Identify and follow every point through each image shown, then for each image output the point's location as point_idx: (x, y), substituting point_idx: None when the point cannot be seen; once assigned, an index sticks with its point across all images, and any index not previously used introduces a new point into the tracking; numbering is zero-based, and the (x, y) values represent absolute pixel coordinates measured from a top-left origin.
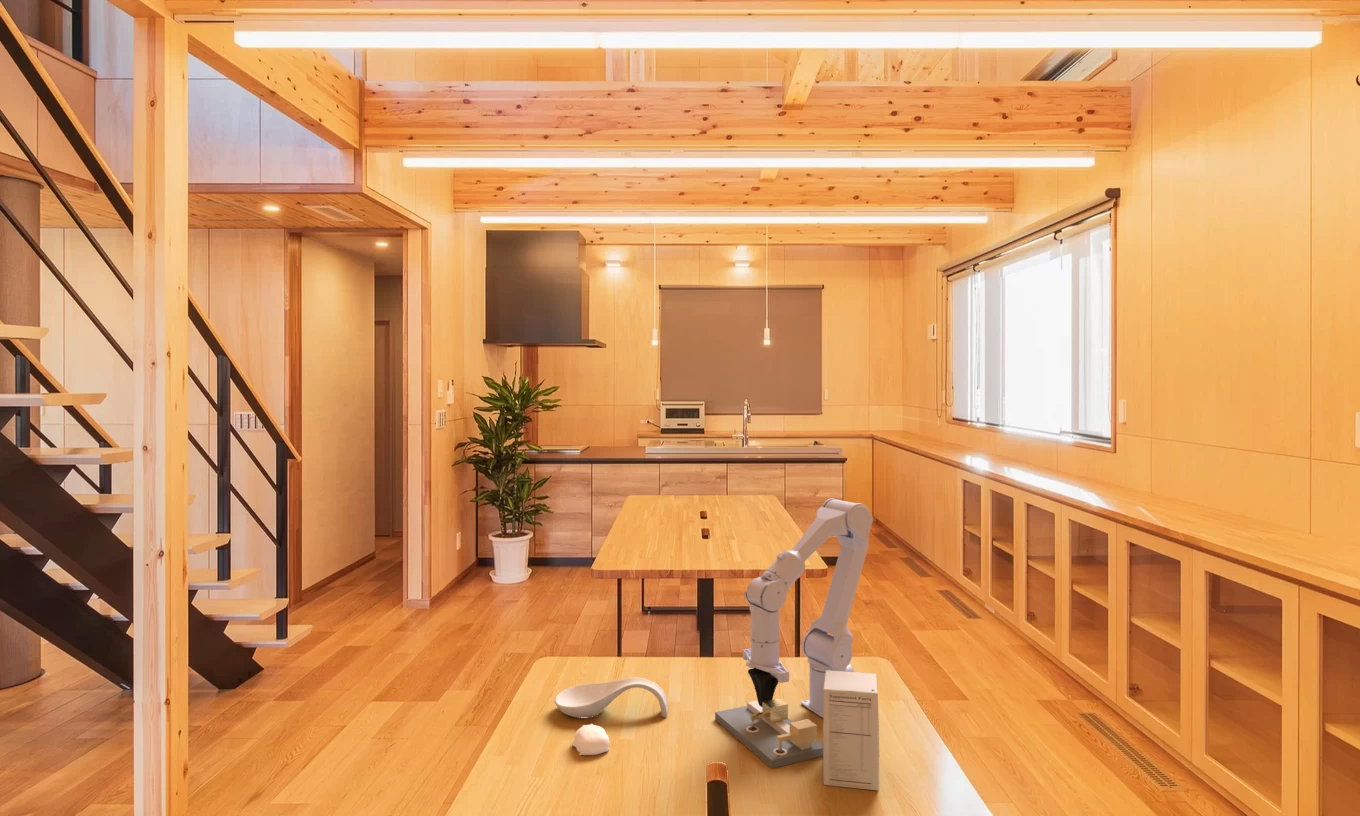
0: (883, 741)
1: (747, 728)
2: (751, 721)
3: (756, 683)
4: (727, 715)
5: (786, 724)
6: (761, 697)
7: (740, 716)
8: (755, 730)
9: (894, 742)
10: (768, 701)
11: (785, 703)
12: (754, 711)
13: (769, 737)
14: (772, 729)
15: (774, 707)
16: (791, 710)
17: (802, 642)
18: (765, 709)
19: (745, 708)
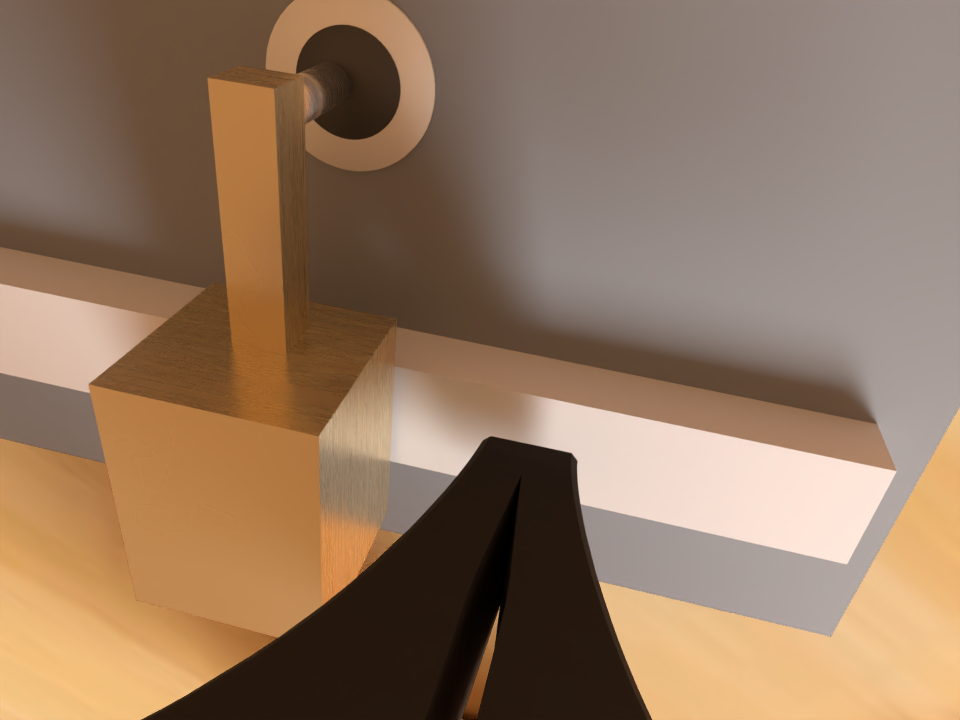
0: (29, 680)
1: (390, 32)
2: (543, 220)
3: (480, 709)
4: (926, 51)
5: None
6: (424, 515)
7: (754, 199)
8: None
9: (9, 699)
10: (297, 504)
11: (159, 594)
12: (698, 401)
13: (102, 120)
14: None
15: (103, 435)
16: (637, 674)
17: None
18: (270, 370)
19: (886, 400)
